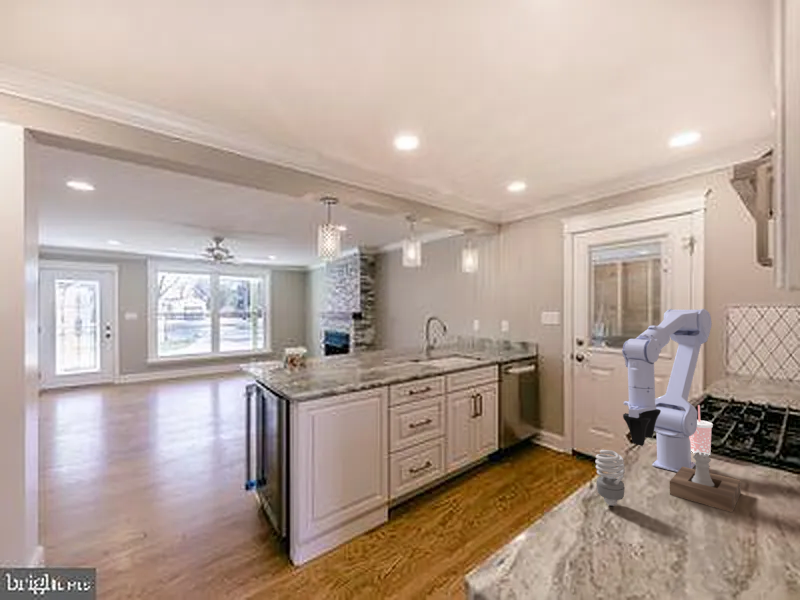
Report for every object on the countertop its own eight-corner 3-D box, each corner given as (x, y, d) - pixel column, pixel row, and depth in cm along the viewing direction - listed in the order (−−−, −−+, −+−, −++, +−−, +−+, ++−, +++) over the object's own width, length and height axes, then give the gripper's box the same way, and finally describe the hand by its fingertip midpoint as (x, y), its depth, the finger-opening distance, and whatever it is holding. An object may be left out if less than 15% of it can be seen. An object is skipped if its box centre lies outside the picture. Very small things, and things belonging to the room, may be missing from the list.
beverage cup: (683, 448, 118) (681, 402, 118) (705, 449, 117) (703, 402, 117) (695, 456, 112) (693, 407, 112) (719, 457, 111) (717, 407, 111)
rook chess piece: (720, 494, 87) (719, 458, 87) (698, 493, 88) (697, 457, 88) (707, 485, 92) (706, 451, 92) (686, 484, 92) (685, 450, 92)
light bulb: (590, 502, 86) (589, 448, 87) (608, 497, 88) (606, 444, 89) (613, 514, 81) (611, 456, 81) (631, 509, 83) (630, 452, 84)
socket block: (682, 478, 98) (682, 466, 98) (740, 493, 89) (740, 480, 90) (669, 494, 89) (669, 481, 89) (732, 512, 81) (731, 497, 81)
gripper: (632, 380, 106) (633, 430, 106) (614, 388, 96) (615, 444, 96) (662, 384, 101) (664, 436, 101) (647, 392, 91) (648, 451, 91)
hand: (642, 440), depth 98 cm, fingers open, 7 cm apart
